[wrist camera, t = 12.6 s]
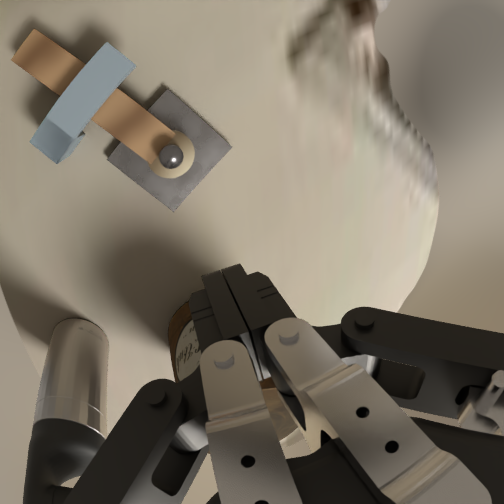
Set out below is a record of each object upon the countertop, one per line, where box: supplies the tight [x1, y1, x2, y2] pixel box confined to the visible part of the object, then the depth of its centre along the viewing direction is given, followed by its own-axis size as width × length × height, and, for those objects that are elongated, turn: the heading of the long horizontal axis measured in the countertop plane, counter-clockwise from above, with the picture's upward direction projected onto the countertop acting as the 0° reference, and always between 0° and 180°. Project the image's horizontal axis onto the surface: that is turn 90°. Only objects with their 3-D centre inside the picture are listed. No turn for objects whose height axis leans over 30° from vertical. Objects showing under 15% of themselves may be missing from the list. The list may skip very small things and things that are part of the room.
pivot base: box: [107, 89, 232, 212], centre depth 30 cm, size 10×10×5 cm
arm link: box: [11, 29, 195, 178], centre depth 25 cm, size 24×5×2 cm, turn 46°
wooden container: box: [168, 301, 298, 454], centre depth 37 cm, size 15×15×22 cm
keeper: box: [30, 42, 136, 164], centre depth 25 cm, size 12×4×5 cm, turn 134°
